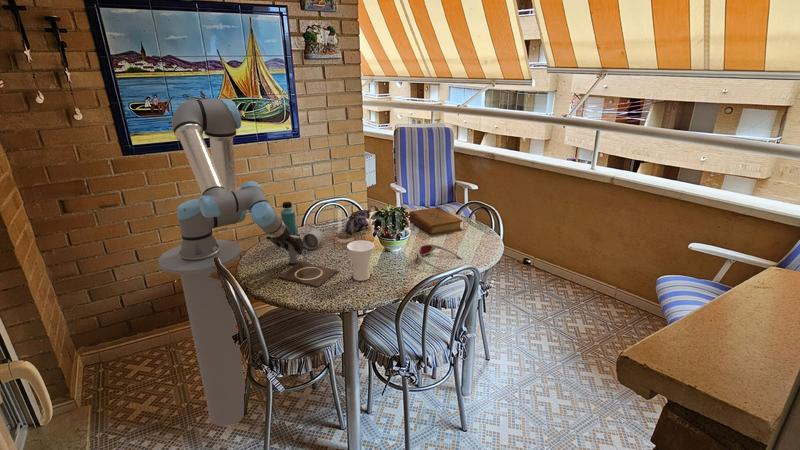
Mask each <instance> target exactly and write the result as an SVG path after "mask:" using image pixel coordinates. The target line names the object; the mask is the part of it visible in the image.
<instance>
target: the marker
mask: <svg viewBox="0 0 800 450" xmlns="http://www.w3.org/2000/svg"><path fill="white" fill-rule="evenodd" d="M288 249H289V252H288V257H289V264H290V265H291V266H296V265H298V264H299V261H298V253H297V252H296V251H295V248H294V247H293V246H292V245H290V244H288Z"/></svg>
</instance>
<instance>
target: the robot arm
mask: <svg viewBox="0 0 800 450" xmlns="http://www.w3.org/2000/svg"><path fill="white" fill-rule="evenodd" d="M241 127H242V118H241V113H240V111H239V108H238V107H237V104H236V103H235V102H234V101H233V100H232V99H230V98H220V97H219V98H203V99H188V100H185V101H183V102H182V103H180V104H179V105H178V106H177V108H176V109H175V110H174V112H173V115H172V119H171V128H172V132H173V134H174V137H175V139H176V140H178V141H179V142H180V144H181V146H182V149H183V151H184V153H185V154H184V155H185V156H186V158H187V161H188V164H189V166H190V168H191V171H192V173H193V175H194V178H195V180H196V183H197V185H198V188H199V191H200V192H201V195H202V196H199V198H194V199H189V200H187V201H184V202H182V203H181V204H179V205H178V206H177V207H176V215H177V217H176V218H177V220H178V225H179V229H180V234H181V245H182V246H181V251H180V252H179V253H180V255H181V258H182V259H183V260H186V261H200V260H205V259H209V258H212V257H214V256H216V255H217V254H218V253H219V252H220V249H219V246H218V244H217V242H216V240H215V237H214V235H213V231H212V230H213V229H216V228H221V227H226V226H230V225H236V224H238V223H242V222H244V220H245V219H246V217H247V212H249V216H250V218H251V220H252V222H253V223H254V224H255V225H256V226H258V227H259V228H260V229H261V230H262V232H264V233H265V234H266V238H265V239H266V240H268V241H270V242H271V243H272V244H273V245H275V246H276V247H277V248H282V249H284V250H286V251H287V253H289V249H288V244H290V245H292V246H293V247H294V248H295V251H296V252H297V255H299V256H301V255H302V253H303V246H304V245H303V242H302V241H303V239H302V238H301V236H300V234H299V233H297V235H293V234H292V233H290V232H289V229H288V227H287V226H286V224H285V223H284V222H283V221H282V220H281V216H279V215H278V214H277V212H276V211H275V209H274V207H273V206H272V204H271V202H270V201H269V199H268V197H267V195H266V193H265V191H264V189H263V188H262V187H261V185H260V184H259V183H258V182H256V181H255V180H252V181H251V180H250V181H247V182H246V183H242V184H241V185H240V187H239V189H238V190H237V178H236V164H235V153H234V139H233V138H234V137H236V136H237V130H239V129H240V128H241ZM203 134H204V135H205V136H206V137H207V138H208V139H209V147H210V151H209V148H208V145H207V144H206V141H205V138H204V136H203Z"/></svg>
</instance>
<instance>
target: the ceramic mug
mask: <svg viewBox="0 0 800 450" xmlns="http://www.w3.org/2000/svg"><path fill="white" fill-rule="evenodd" d="M324 237H325V236H324V233H323V232H322V231H321V230H320V229H317V228H316V229H311V230H310V231H308V232H307V233H305V234H304V235H303V236H302V242H303V246H304V247H305V248H306V249H309V250H315V249H316V248H318V247H319V246H320V245H321V244H322V243H323V242H324Z"/></svg>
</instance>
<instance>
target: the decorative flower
mask: <svg viewBox="0 0 800 450" xmlns="http://www.w3.org/2000/svg"><path fill="white" fill-rule="evenodd" d="M370 213H372V211H371V210H368V209H360V210H356V211H353V212H352V213H351V214H350V216H349V218H348V220H347V222H346V224H345V231H346V232H347V233H348V234H349V235H353V234H354V230H355V231H356V233H360V232H361V231H362V229H363V228H365V229H366V230H369V225H370V224H369V222H368V220H370V219H371V218H370V217H371V214H370Z"/></svg>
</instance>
